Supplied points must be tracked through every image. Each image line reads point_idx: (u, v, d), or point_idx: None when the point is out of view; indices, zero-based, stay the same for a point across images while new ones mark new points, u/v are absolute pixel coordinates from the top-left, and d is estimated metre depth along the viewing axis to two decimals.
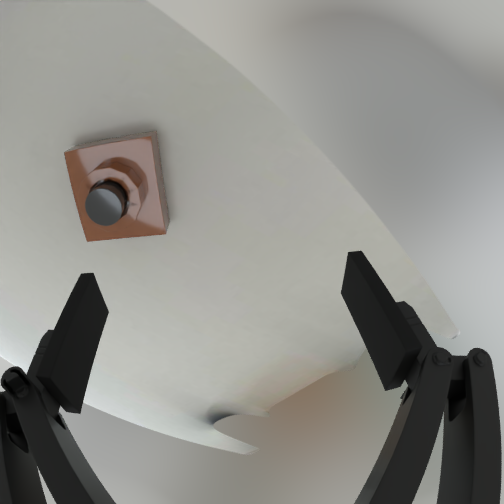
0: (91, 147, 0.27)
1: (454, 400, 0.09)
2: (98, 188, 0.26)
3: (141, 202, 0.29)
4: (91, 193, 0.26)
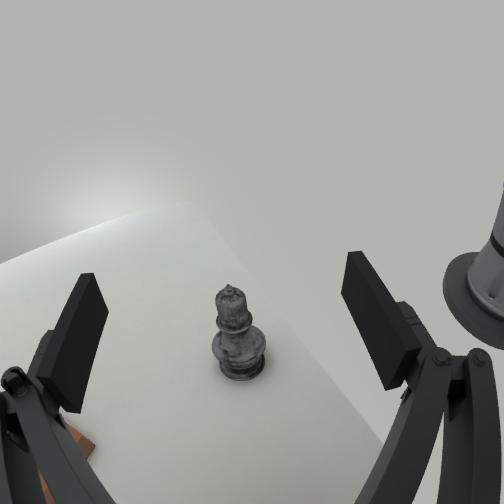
0: None
1: (454, 400, 0.09)
2: None
3: None
4: None
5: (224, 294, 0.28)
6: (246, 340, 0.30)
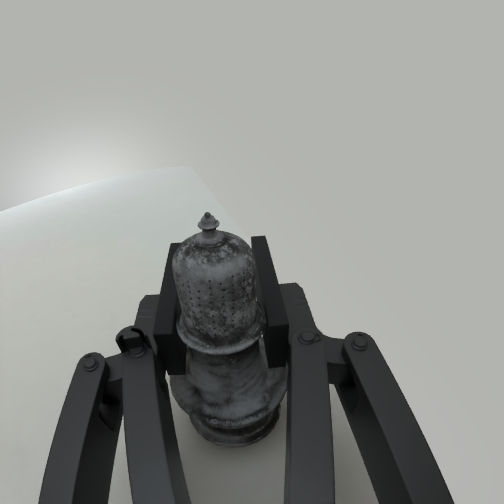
0: None
1: (348, 390, 0.11)
2: None
3: None
4: None
5: (196, 242, 0.10)
6: (245, 371, 0.12)
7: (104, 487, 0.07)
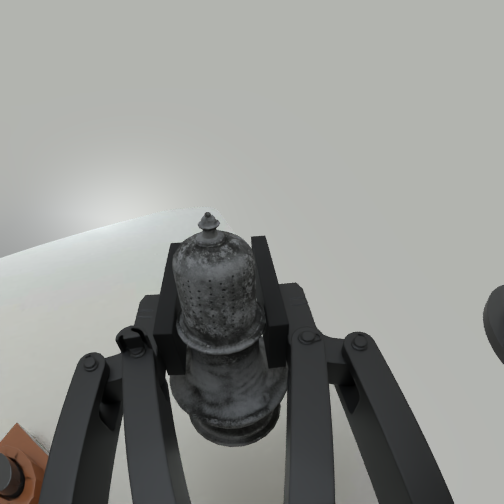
0: None
1: (347, 390, 0.11)
2: (8, 485, 0.12)
3: None
4: (9, 477, 0.12)
5: (196, 242, 0.10)
6: (246, 371, 0.12)
7: (104, 487, 0.07)
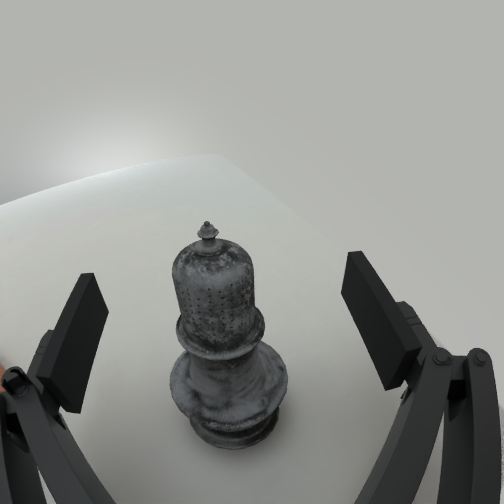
0: None
1: (454, 400, 0.09)
2: None
3: None
4: None
5: (196, 250, 0.10)
6: (244, 376, 0.12)
7: None
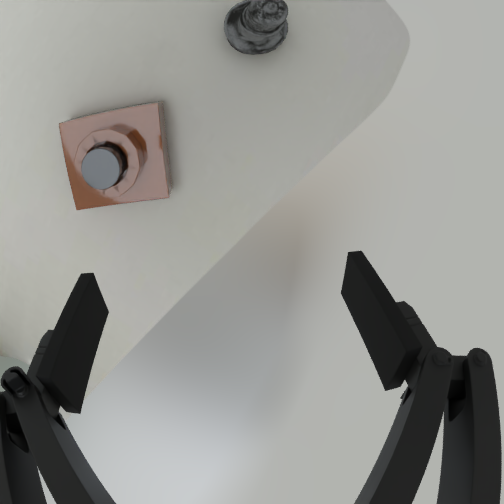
0: (160, 136, 0.27)
1: (453, 400, 0.09)
2: (119, 165, 0.25)
3: None
4: (114, 157, 0.24)
5: (266, 11, 0.16)
6: None
7: None
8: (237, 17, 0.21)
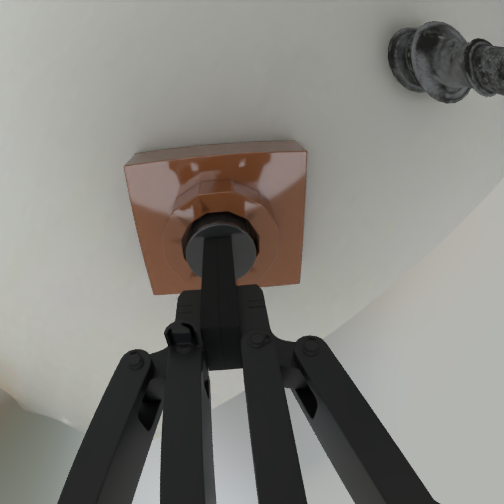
0: (303, 203, 0.19)
1: (306, 394, 0.11)
2: None
3: None
4: (249, 240, 0.17)
5: None
6: None
7: (131, 486, 0.07)
8: (432, 45, 0.13)
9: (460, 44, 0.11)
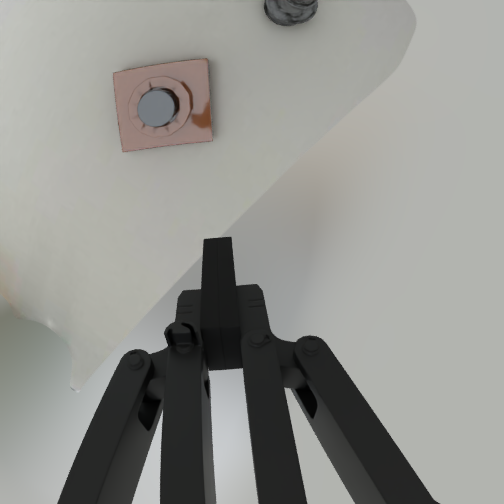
0: (208, 86, 0.30)
1: (306, 394, 0.11)
2: (174, 105, 0.28)
3: None
4: (170, 98, 0.27)
5: None
6: None
7: (131, 486, 0.07)
8: None
9: None
